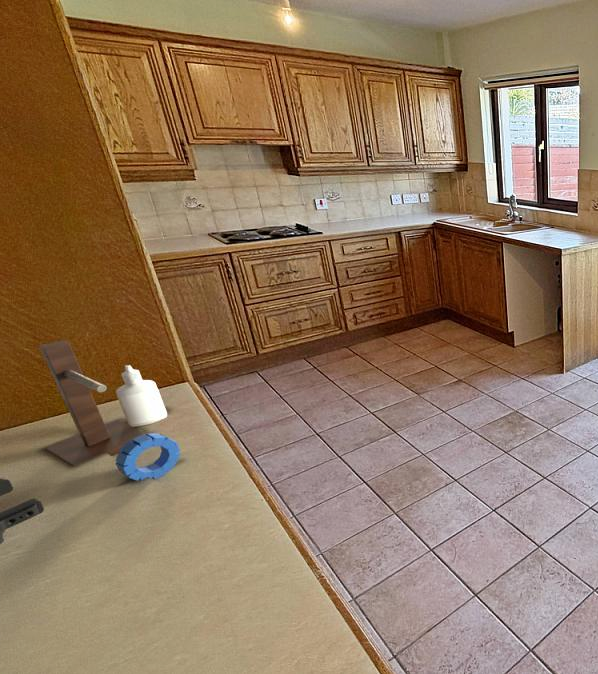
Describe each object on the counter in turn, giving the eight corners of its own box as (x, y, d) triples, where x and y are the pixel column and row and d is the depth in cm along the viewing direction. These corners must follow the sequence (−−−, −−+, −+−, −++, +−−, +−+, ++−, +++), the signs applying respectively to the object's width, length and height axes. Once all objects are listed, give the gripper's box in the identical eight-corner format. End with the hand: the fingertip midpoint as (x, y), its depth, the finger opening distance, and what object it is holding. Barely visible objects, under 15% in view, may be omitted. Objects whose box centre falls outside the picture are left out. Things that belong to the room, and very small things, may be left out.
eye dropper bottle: (161, 424, 91) (140, 369, 86) (124, 428, 89) (101, 373, 85) (171, 412, 95) (152, 359, 90) (136, 416, 93) (114, 362, 88)
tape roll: (145, 483, 79) (103, 465, 73) (182, 445, 82) (144, 425, 77) (153, 487, 78) (111, 469, 72) (190, 449, 81) (153, 429, 76)
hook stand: (47, 453, 82) (-6, 348, 74) (120, 424, 91) (79, 327, 82) (95, 483, 76) (43, 372, 68) (169, 449, 85) (130, 347, 77)
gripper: (-186, 584, 47) (42, 488, 61) (-232, 533, 52) (-11, 455, 66) (-148, 635, 50) (62, 532, 64) (-194, 582, 55) (10, 497, 69)
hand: (25, 493), depth 65 cm, fingers open, 8 cm apart
